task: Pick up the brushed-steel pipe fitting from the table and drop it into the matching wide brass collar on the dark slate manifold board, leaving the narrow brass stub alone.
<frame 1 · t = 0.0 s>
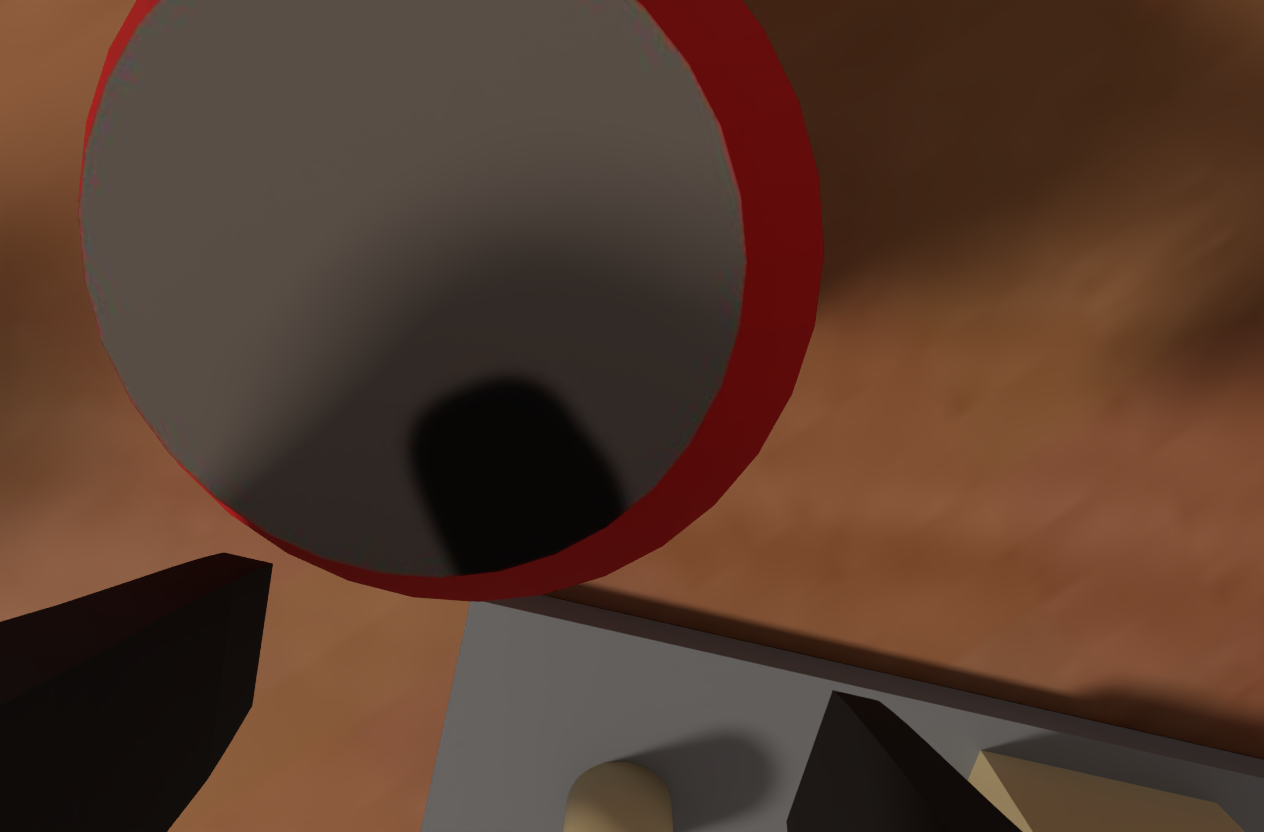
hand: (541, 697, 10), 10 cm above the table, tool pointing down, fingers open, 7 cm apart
soda can: (559, 238, 19), on the table
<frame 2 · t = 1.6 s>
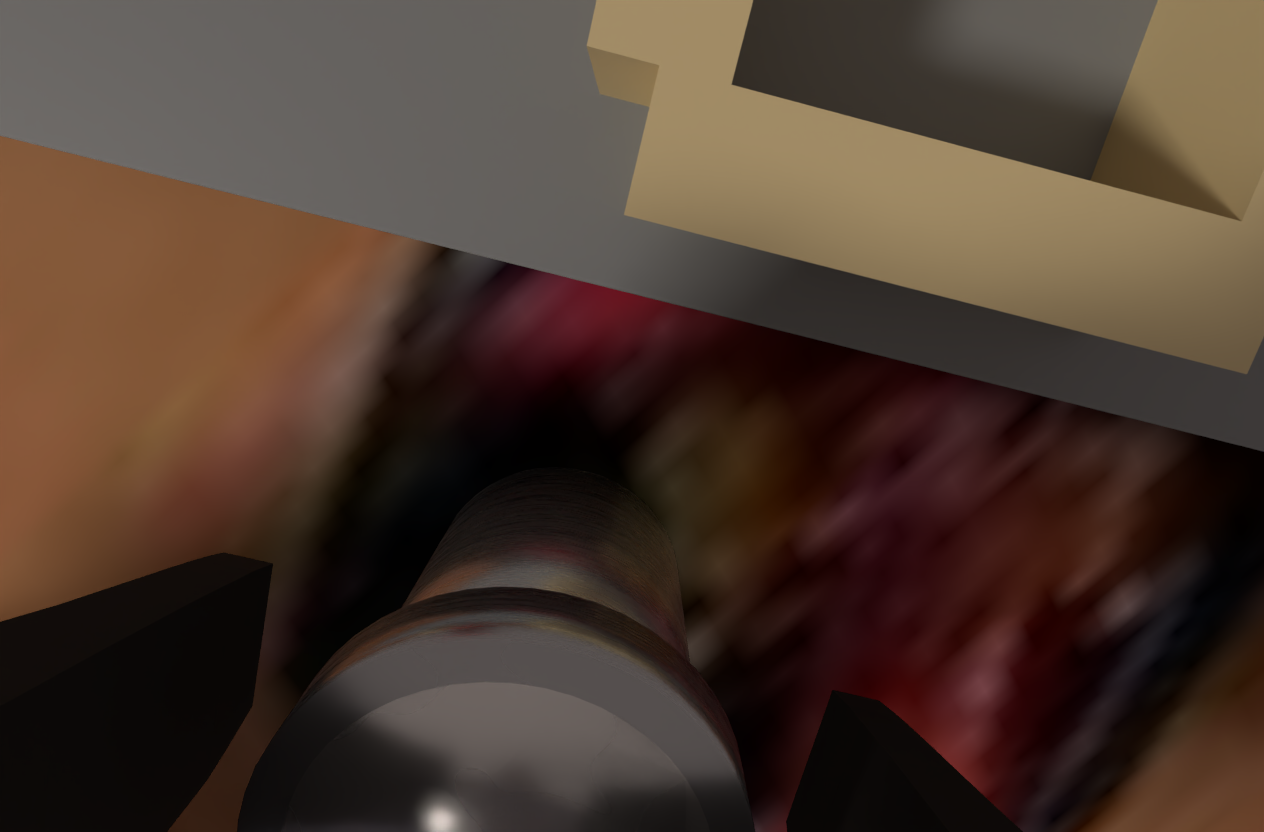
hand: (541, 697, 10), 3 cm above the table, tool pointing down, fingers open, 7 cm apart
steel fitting: (557, 581, 13), on the table
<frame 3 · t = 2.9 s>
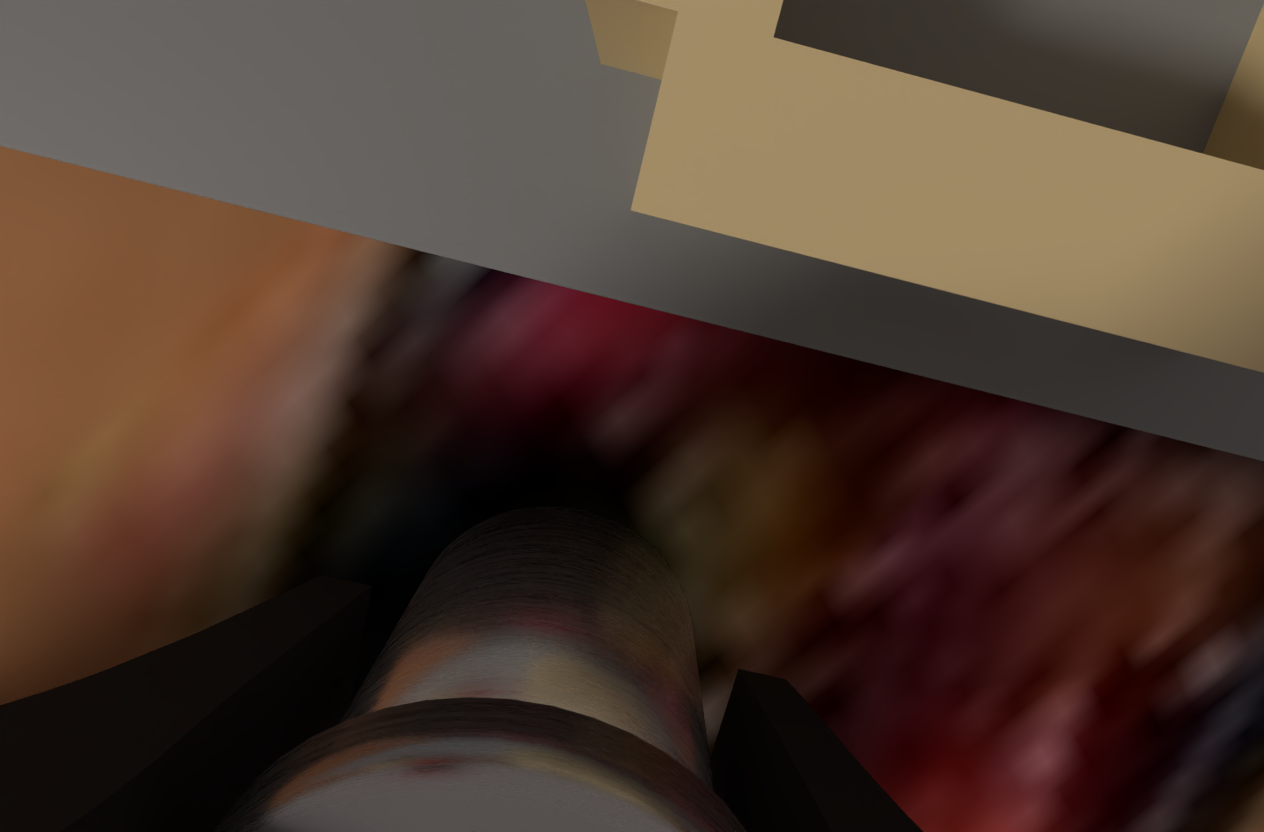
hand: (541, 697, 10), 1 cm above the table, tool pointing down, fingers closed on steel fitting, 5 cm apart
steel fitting: (552, 637, 11), on the table, touching gripper
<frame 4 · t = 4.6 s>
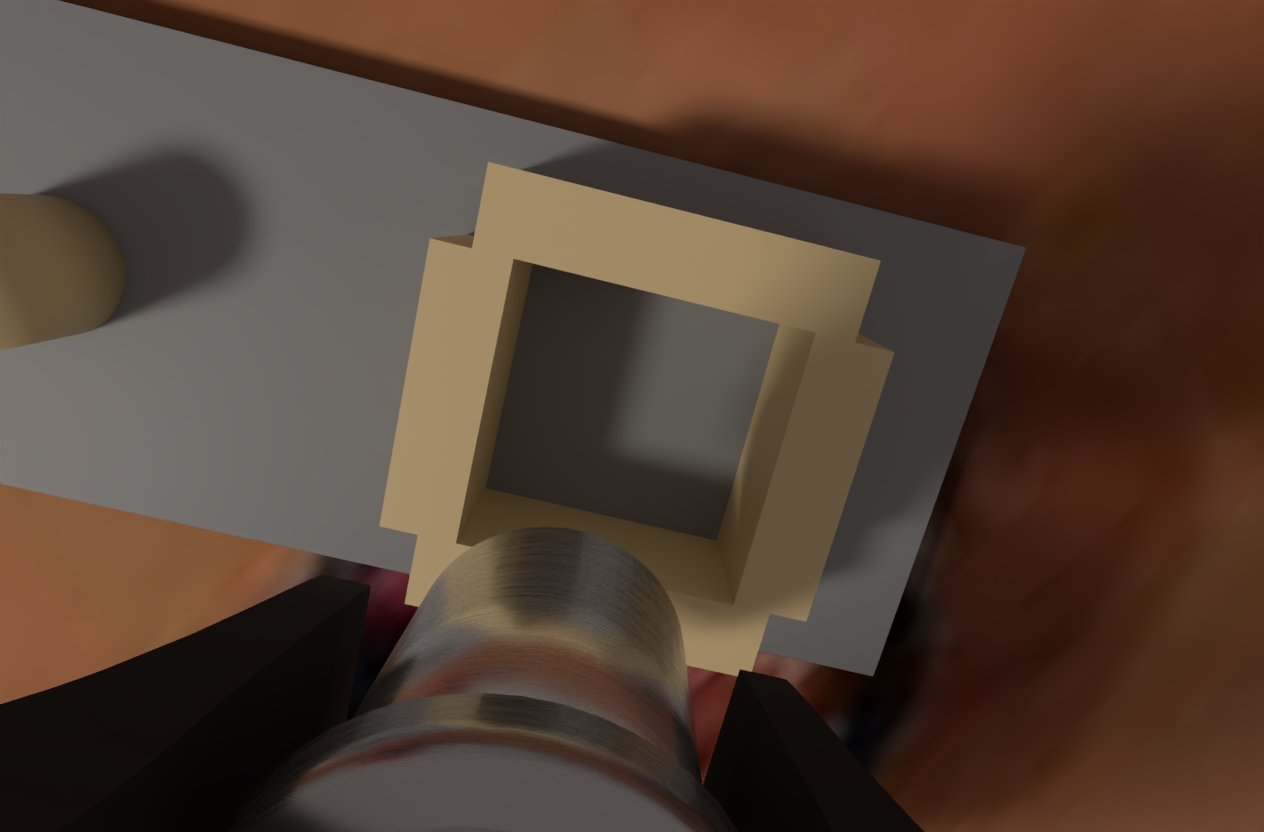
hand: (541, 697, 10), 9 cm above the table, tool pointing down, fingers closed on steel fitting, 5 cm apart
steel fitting: (548, 655, 12), point 7 cm above the table, touching gripper
manifold board: (409, 339, 17), on the table
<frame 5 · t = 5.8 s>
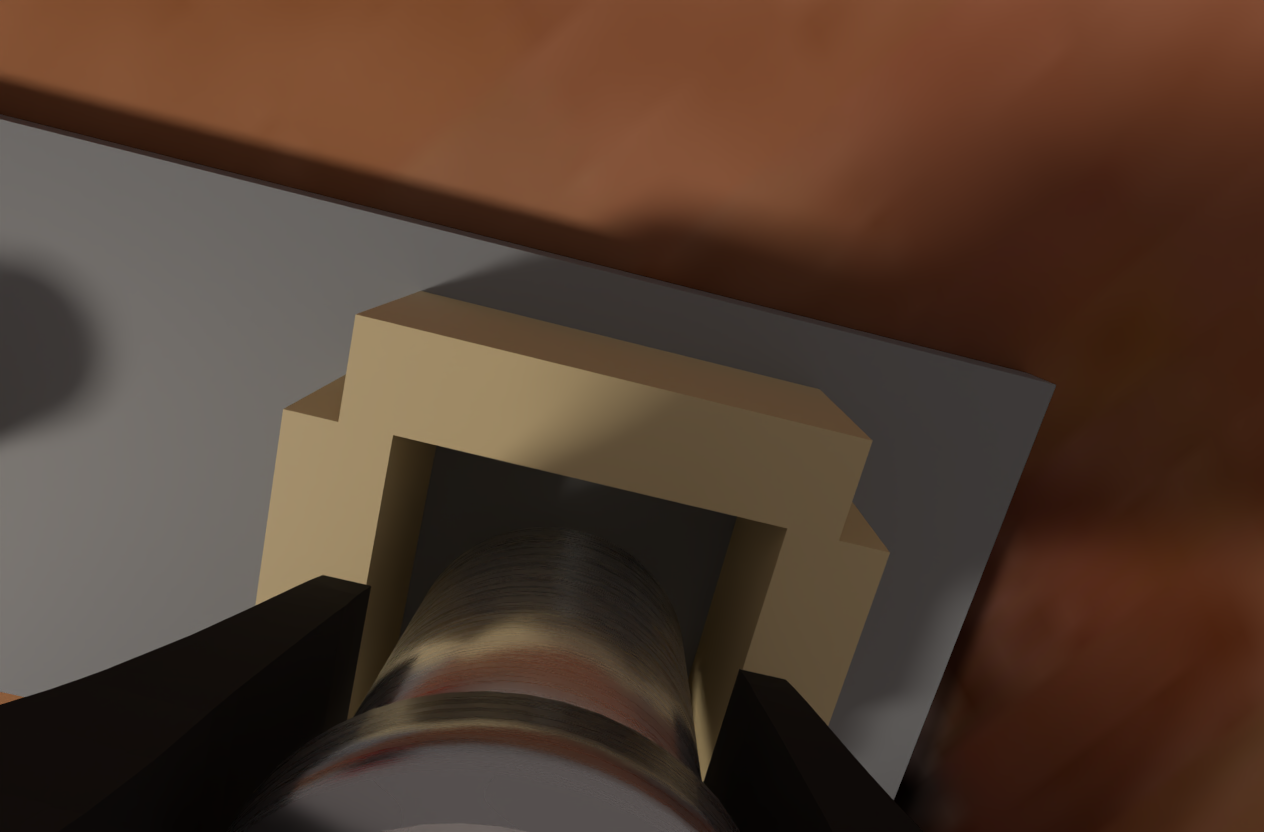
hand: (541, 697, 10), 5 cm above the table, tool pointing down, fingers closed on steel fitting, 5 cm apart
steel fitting: (548, 655, 12), point 3 cm above the table, touching gripper
manifold board: (305, 477, 14), on the table
when the fingers open (5 cm above the table, at t = 6.5 s): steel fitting drops 2 cm, resting on manifold board.
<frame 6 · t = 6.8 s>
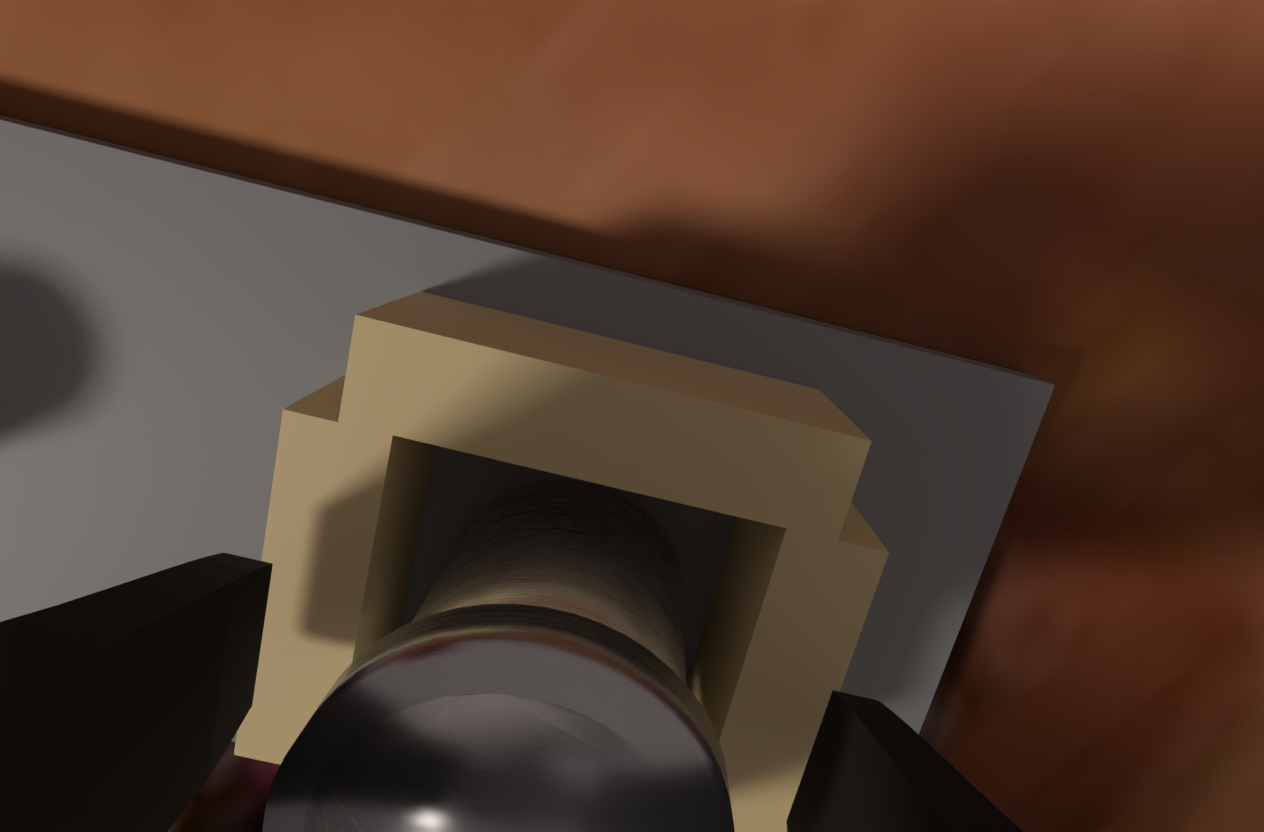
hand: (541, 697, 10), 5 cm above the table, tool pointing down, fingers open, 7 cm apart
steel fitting: (565, 588, 14), point 1 cm above the table, touching manifold board
manifold board: (304, 478, 14), on the table
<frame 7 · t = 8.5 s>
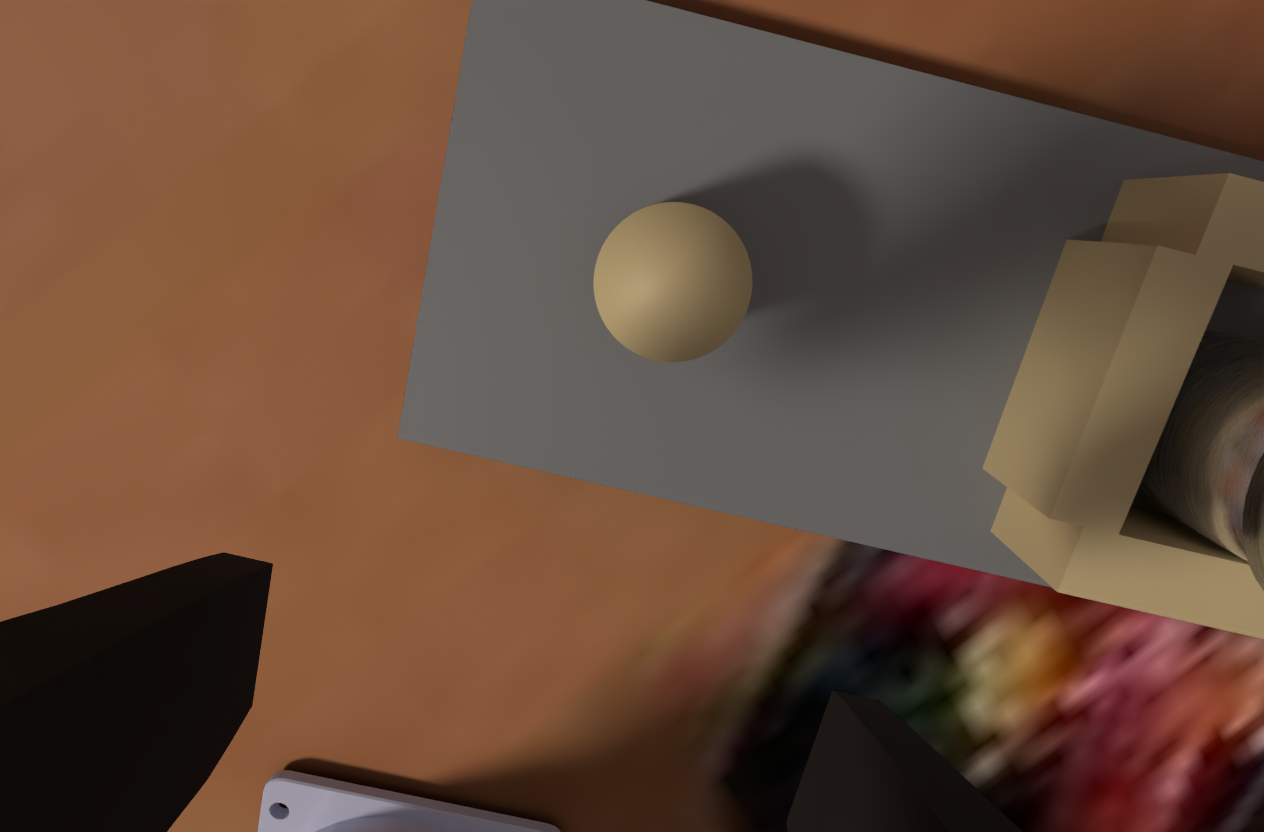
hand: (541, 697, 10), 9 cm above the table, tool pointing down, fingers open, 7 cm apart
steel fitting: (1189, 420, 18), point 1 cm above the table, touching manifold board
manifold board: (961, 340, 18), on the table
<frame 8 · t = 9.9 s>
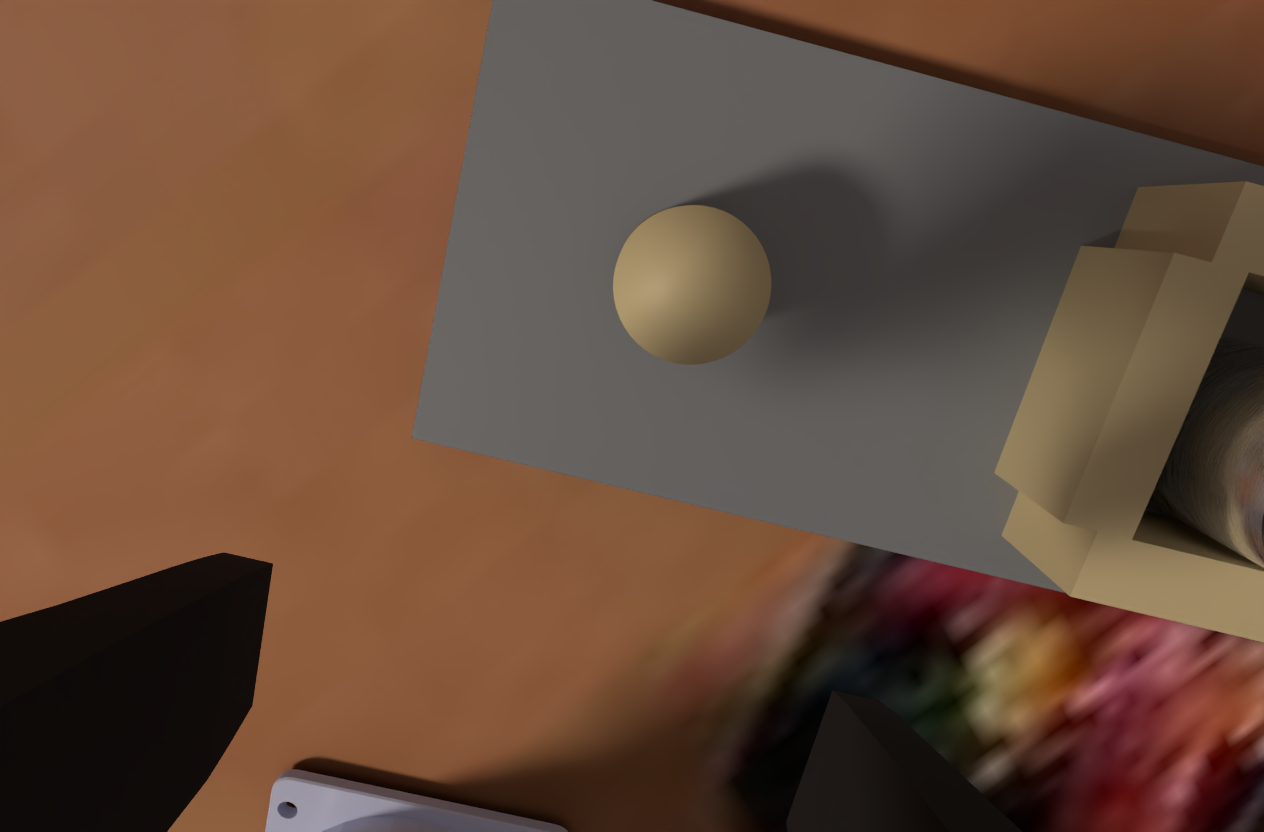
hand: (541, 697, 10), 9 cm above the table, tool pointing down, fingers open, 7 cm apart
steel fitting: (1200, 426, 18), point 1 cm above the table, touching manifold board
manifold board: (973, 345, 18), on the table
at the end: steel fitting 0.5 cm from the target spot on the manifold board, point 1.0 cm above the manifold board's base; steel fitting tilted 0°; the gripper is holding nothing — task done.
